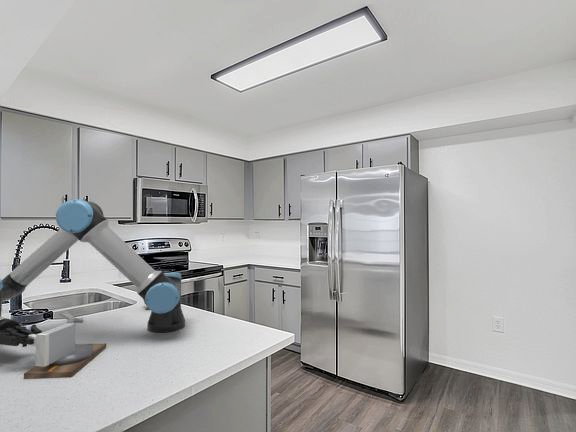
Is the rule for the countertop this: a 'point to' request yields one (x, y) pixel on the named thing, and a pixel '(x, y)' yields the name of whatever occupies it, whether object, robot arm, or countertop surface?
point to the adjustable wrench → (70, 317)
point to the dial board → (63, 366)
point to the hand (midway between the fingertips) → (42, 342)
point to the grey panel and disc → (60, 347)
